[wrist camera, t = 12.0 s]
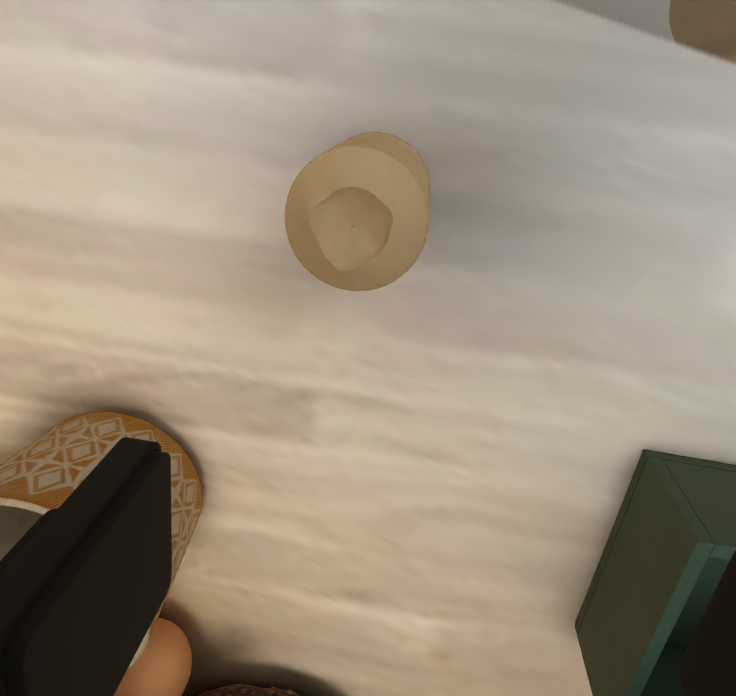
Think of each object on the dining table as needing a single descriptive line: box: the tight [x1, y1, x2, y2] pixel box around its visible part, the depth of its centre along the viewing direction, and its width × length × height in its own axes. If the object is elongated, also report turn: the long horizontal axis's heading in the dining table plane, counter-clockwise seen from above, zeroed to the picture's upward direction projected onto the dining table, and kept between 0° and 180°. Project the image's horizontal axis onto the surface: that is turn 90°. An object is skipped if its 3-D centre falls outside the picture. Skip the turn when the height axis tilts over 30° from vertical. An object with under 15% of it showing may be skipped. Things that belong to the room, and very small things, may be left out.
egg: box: [114, 617, 192, 696], centre depth 42 cm, size 7×7×9 cm
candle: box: [285, 132, 430, 291], centre depth 26 cm, size 6×6×10 cm
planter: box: [0, 412, 202, 670], centre depth 34 cm, size 13×13×10 cm
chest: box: [575, 450, 736, 696], centre depth 34 cm, size 15×13×8 cm
